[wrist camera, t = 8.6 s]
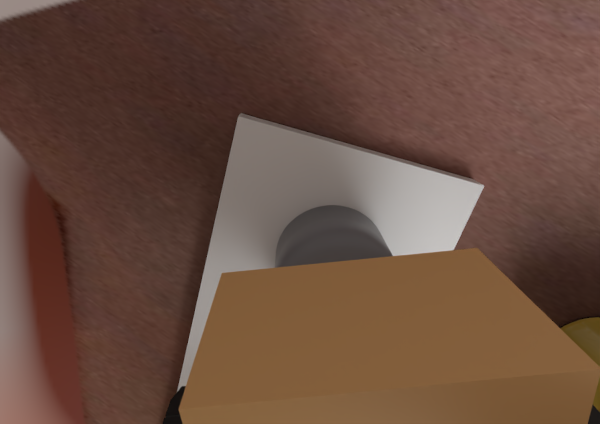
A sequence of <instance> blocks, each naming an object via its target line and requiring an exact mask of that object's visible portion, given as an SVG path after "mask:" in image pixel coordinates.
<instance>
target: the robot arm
mask: <svg viewBox="0 0 600 424" xmlns="http://www.w3.org/2000/svg"><path fill="white" fill-rule="evenodd" d="M185 387H186V386H181V388H180V389H179V390H178V392H177V393H176V394H175V395H174V397H173V398H172V399H171V401H170V404H169V407H168V410H167V412H166V418H164V421H163V424H183V423H182V420H181V416H180V413H179V406H180V403H181V400H182V397H183V394H184V390H185ZM588 424H600V412H599V411H598V410H597V409H596V407H595V406H594V405H592V409H591V413H590V416H589V420H588Z"/></svg>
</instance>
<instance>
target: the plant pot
mask: <svg viewBox="0 0 600 424" xmlns="http://www.w3.org/2000/svg"><path fill="white" fill-rule="evenodd" d="M560 329H561V330H562V331H563V332H564V333H565V334H566V335H567V336H568V337H569V338H570V339H571V340H573V341H574V342H575V343H576V344H577V345H578V346H579V347H580V348H581V349H582V350H583V351H584V352H585V353H586V354H587V355H588V356H589V357H590V358H591V359H592V360H593V361H594V362H595V363H596V364H597V365H598V366H599V367H600V317H593V318H585V319H581V320H577V321H575V322H572V323H569V324H567V325H565V326H563V327H562V328H560ZM593 405H594V406H595V407H596V409H597V410H598V411H599V412H600V378H599V382H598V386H597V389H596V393H595V397H594V401H593Z"/></svg>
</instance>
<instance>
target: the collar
mask: <svg viewBox="0 0 600 424" xmlns="http://www.w3.org/2000/svg"><path fill="white" fill-rule="evenodd" d="M599 378H600V367H599V366H598V365H597V364H596V363H595V362H594V361H593V360H592V359H591V358H590V357H589V356H588V355H587V354H586V353H585V352H584V351H583V350H582V349H581V348H580V347H579V346H578V345H577V344H576V343H575V342H574V341H573V340H571V339H570V338H569V337H568V336H567V335H566V334H565V333H564V332H563V331H562V330H561V329H560V328H559V327H558V326H557V325H556V324H555V323H554V322H553V321H552V320H551V319H550V318H549V317H548V316H547V315H546V314H545V313H544V312H543V311H542V310H541V309H540V308H539V307H537V306H536V305H535V304H534V303H533V302H532V301H531V300H530V299H529V298H528V297H527V296H526V295H525V294H524V293H523V292H522V291H521V290H520V289H519V288H518V287H517V286H516V285H515V284H514V283H513V282H512V281H511V280H510V279H509V278H508V277H507V276H506V275H505V274H503V273H502V272H501V271H500V270H499V269H498V268H497V267H496V266H495V265H494V264H493V263H492V262H491V261H490V260H489V259H488V258H487V257H486V256H485V255H484V254H483V253H482V252H481V251H480V250H479V249H478V248H471V249H461V250H451V251H440V252H430V253H420V254H410V255H400V256H389V257H379V258H369V259H359V260H349V261H338V262H328V263H318V264H308V265H297V266H287V267H277V268H267V269H257V270H246V271H236V272H226V273H222V274H221V277H220V280H219V283H218V287H217V290H216V293H215V296H214V299H213V302H212V305H211V309H210V312H209V315H208V318H207V321H206V324H205V327H204V331H203V334H202V337H201V340H200V343H199V346H198V350H197V353H196V356H195V359H194V362H193V365H192V368H191V372H190V375H189V378H188V381H187V384H186V387H185V390H184V394H183V397H182V400H181V403H180V406H179V413H180V416H181V420H182V423H183V424H588V420H589V416H590V413H591V409H592V405H593V401H594V397H595V393H596V389H597V386H598V382H599Z"/></svg>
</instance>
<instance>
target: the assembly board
mask: <svg viewBox="0 0 600 424" xmlns="http://www.w3.org/2000/svg"><path fill="white" fill-rule="evenodd" d="M483 187H484V185H482V184H481V183H479V182H477V181H476V180H474V179H471V178H467V177H464V176H460V175H457V174H453V173H450V172H446V171H443V170H439V169H436V168H432V167H429V166H425V165H422V164H418V163H415V162H411V161H408V160H404V159H401V158H397V157H394V156H390V155H387V154H383V153H380V152H376V151H373V150H369V149H365V148H362V147H358V146H355V145H351V144H348V143H344V142H341V141H337V140H334V139H330V138H327V137H323V136H320V135H316V134H313V133H309V132H306V131H302V130H299V129H295V128H292V127H288V126H285V125H281V124H278V123H274V122H271V121H267V120H264V119H260V118H256V117H253V116H249V115H246V114H242V113H241V114H240V115H239V116H238V119H237V124H236V128H235V133H234V137H233V142H232V146H231V151H230V155H229V160H228V164H227V169H226V173H225V178H224V182H223V187H222V191H221V196H220V200H219V205H218V209H217V214H216V218H215V223H214V227H213V232H212V236H211V241H210V245H209V250H208V254H207V259H206V263H205V268H204V272H203V277H202V281H201V286H200V290H199V295H198V299H197V304H196V308H195V313H194V317H193V322H192V326H191V331H190V335H189V340H188V344H187V349H186V354H185V358H184V363H183V367H182V372H181V376H180V381H179V385H178V390H179V389H180V388H181V386H186V384H187V381H188V378H189V375H190V372H191V368H192V365H193V362H194V359H195V356H196V353H197V350H198V346H199V343H200V340H201V337H202V334H203V331H204V327H205V324H206V321H207V318H208V315H209V312H210V309H211V305H212V302H213V299H214V296H215V293H216V290H217V287H218V283H219V280H220V277H221V274H222V273H226V272H236V271H246V270H257V269H267V268H277V267H287V266H297V265H308V264H318V263H328V262H338V261H349V260H359V259H369V258H379V257H389V256H400V255H410V254H420V253H430V252H440V251H451V250H454V248H455V246H456V244H457V242H458V240H459V238H460V236H461V234H462V231H463V229H464V227H465V225H466V223H467V221H468V219H469V217H470V215H471V213H472V211H473V208H474V206H475V204H476V202H477V200H478V198H479V196H480V194H481V192H482V190H483ZM178 390H177V392H178Z"/></svg>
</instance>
